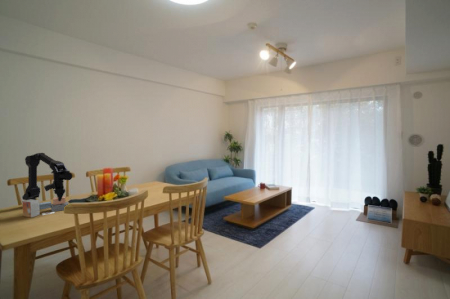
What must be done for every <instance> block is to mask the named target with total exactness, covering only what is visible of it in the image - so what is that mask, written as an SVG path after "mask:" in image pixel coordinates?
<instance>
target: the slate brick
mask: <svg viewBox="0 0 450 299" xmlns="http://www.w3.org/2000/svg"><path fill="white" fill-rule="evenodd" d="M51 204H52V201H45V202H39V210H44V209H45V210H47V209H51Z"/></svg>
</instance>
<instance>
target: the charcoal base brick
mask: <svg viewBox="0 0 450 299" xmlns="http://www.w3.org/2000/svg"><path fill="white" fill-rule="evenodd" d="M68 204H69V202H68V201H65V203H62V204H56V205H54V204H53V203H51V208H50V210H51V211H50V212H61V211H65V210H64V207H65V206H66V205H68Z"/></svg>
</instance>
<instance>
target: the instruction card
mask: <svg viewBox="0 0 450 299" xmlns="http://www.w3.org/2000/svg"><path fill="white" fill-rule="evenodd" d="M51 214H55V212H52V211H48V212H42V213H41V216H47V215H51Z"/></svg>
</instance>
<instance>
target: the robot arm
mask: <svg viewBox="0 0 450 299" xmlns="http://www.w3.org/2000/svg"><path fill="white" fill-rule="evenodd" d="M24 161H25V165H26V166H27V167H28V169H27V170H28V171H27V172H28V174H27V175H28V176H27V177H28V178H27V179H28V182H27V183H28V185H27V187H26V188H25V192H24V193H23V195H22V200H23V201H26V200H30V199H32V200H37V198H39V197H40V194H41V188H40V187H39V186H38V166H39V165H40V164H41V163H40V162H44V163H45V164H46V165H48V166H49V169H51V170H52V171H51V172H50V173H51V174H52V175H53V181H52V183H50V184H47V185H44V186H43V189H44V190H45V192H48V191H50V190H53V192H54V194H55V195H56V197H58V200H59V201H61V199H62V197H63V196H64V194H65V193H66V188H65V186H64V181H71V180H72V178H73V173H72V172H70V170H68V168H67V167H66V165H65V163H64V162H62V161H59V160H55V159H54V158H52V157H50V156H49V155H47V154H45V152H37V153H35V154H32V155H31V154H30V155H27V156H26V157H25V158H24Z"/></svg>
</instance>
